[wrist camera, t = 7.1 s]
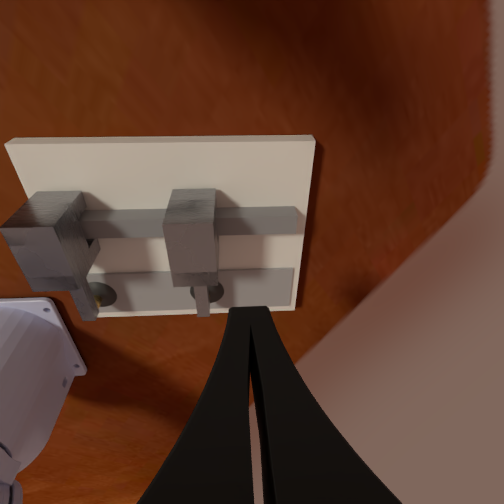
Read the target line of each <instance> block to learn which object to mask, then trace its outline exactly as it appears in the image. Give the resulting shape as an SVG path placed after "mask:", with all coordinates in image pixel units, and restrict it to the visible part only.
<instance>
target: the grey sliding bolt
mask: <svg viewBox="0 0 504 504" xmlns="http://www.w3.org/2000/svg"><path fill="white" fill-rule="evenodd" d="M216 209H217V200H216V188H205V189H173V190H172V193H171V196H170V199H169V203H168V206H167V209H166V213H165V216H164V219H163V223H162V228H163V233H164V239H165V244H166V249H167V255H168V260H169V266H170V271H171V277H172V282H173V287H194V294H195V301H196V309H197V316H198V317H208V316H210V294H209V289H208V286H218V269H219V236H217V222H216Z"/></svg>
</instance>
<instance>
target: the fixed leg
mask: <svg viewBox="0 0 504 504" xmlns="http://www.w3.org/2000/svg"><path fill="white" fill-rule="evenodd" d="M86 207H87V206H86V203H85V200H84V197H83V194H82V191H37V192H36V193H34V194H33V195H32V196H31V197H30V198H29V199H28V200H27V201H26V202H25V203H24V204H23V205H22V206H21V207H20V208H19V209H18V210H17V211H16V212H15V213H14V214H13V215H12V216H11V217H10V218H9V219H8V220H7V221H6V222H5V223H4V224H3V225H2V226H1V227H0V231H1V233H2V234H3V236H4V238H5V240H6V242H7V244H8V246H9V247H10V249H11V251H12V253H13V255H14V257H15V259H16V260H17V262H18V264H19V266H20V268H21V270H22V272H23V273H24V275H25V277H26V279H27V281H28V283H29V285H30V286H31V288H32V290H33V292H36V291H68V290H69V291H70V293H71V295H72V298H73V300H74V302H75V304H76V307H77V309H78V311H79V313H80V315H81V318H82V320H83V321H96V318H97V316H98V314H99V307H100V305H101V303H102V300H103V299H102V297H101V296H99V295H94V296H93V294H92V291H91V289H90V286H89V283H88V281H87V278H86V277H87V275H88V273H89V271H90V269H91V267H92V265H93V263H94V261H95V259H96V257H97V255H98V254H99V252H100V250H101V248H100V245H99V242H98V239H86V238H85V235H84V232H83V230H82V227H81V224H80V221H79V217H80V216H81V214H82V213H83V211H84V210H85V208H86Z"/></svg>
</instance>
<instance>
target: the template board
mask: <svg viewBox="0 0 504 504" xmlns="http://www.w3.org/2000/svg"><path fill="white" fill-rule="evenodd" d="M315 142H316V141H315V139H314V138H313V136H312V135H261V136H157V137H53V138H13V139H12V140H10V141H9V142H7V143H5V144H4V145H5V147H6V150H7V152H8V154H9V156H10V158H11V161H12V163H13V165H14V167H15V170H16V172H17V174H18V176H19V179H20V181H21V183H22V185H23V188H24V190H25V192H26V194H27V197H28V199H29V198H30V197H31V196H32V195H33V194H34V193H36V192H37V191H82V194H83V197H84V200H85V203H86V206H87V207H86V208H85V210H84V211H83V213H82V214H81V216H80V217H79V221H80V224H81V227H82V230H83V232H84V235H85V238H86V239H98V242H99V245H100V248H101V250H100V252H99V254H98V255H97V257H96V259H95V261H94V263H93V265H92V267H91V269H90V271H89V273H88V275H87V277H86V278H87V281H88V283H89V286H90V289H91V291H92V294H93V296H94V295H99V296H101V297H102V299H103V300H102V303H101V305H100V307H99V314H98V316H97V317H118V316H146V315H174V314H197V309H196V301H195V294H194V287H173V282H172V277H171V271H170V266H169V260H168V255H167V249H166V244H165V239H164V233H163V228H162V223H163V219H164V216H165V213H166V209H167V206H168V203H169V199H170V196H171V193H172V190H173V189H205V188H216V200H217V209H216V222H217V236H219V269H218V286H208V289H209V294H210V313H228V311H229V309H230V308H231V307H245V306H267V307H268V308H269V310H270V311H286V310H295V304H296V296H297V287H298V279H299V271H300V263H301V255H302V247H303V239H304V231H305V223H306V215H307V207H308V199H309V191H310V183H311V175H312V167H313V159H314V151H315Z"/></svg>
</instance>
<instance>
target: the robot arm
mask: <svg viewBox="0 0 504 504" xmlns="http://www.w3.org/2000/svg"><path fill="white" fill-rule="evenodd" d="M86 372H87V368H86V366H85V364H84V362H83V360H82V358H81V356H80V354H79V352H78V350H77V348H76V346H75V344H74V342H73V340H72V338H71V336H70V334H69V332H68V330H67V328H66V326H65V324H64V322H63V320H62V318H61V316H60V314H59V312H58V310H57V308H56V306H55V304H54V302H53V301H52V300H51V299H50V298H46V297H40V298H10V299H0V504H22V499H23V493H22V487H21V484H20V483H19V482H18V481H16V480H14V479H15V477H16V474H17V473H18V472H20V471H21V470H23V469H24V468H25V467H27V466H28V465H29V464H30V463H31V462H32V461H33V460H34V459H35V458H36V457H37V456H38V455H39V453H40V452H41V451H42V449H43V448H44V447H45V445H46V443H47V441H48V439H49V437H50V435H51V432H52V430H53V428H54V425H55V423H56V420H57V418H58V415H59V413H60V411H61V408H62V406H63V403H64V401H65V398H66V396H67V394H68V391H69V389H70V386H71V384H72V382H73V379H74V377H75V376H82V375H85V374H86ZM250 374H251V381H252V388H253V395H254V402H255V409H256V416H257V423H258V430H259V438H260V449H261V464H262V482H263V498H264V504H402V503H401V502H400V500H399V499H398V498H397V497H396V496H395V495H394V494H393V493H392V492H391V491H390V490H389V489H388V488H387V487H386V486H385V485H384V484H383V482H381V480H380V479H379V478H378V477H377V476H376V475H375V474H374V473H373V472H372V470H371V469H370V468H369V467H368V466H367V465H366V464H365V462H364V461H363V460H362V459H361V458H360V457H359V456H358V454H357V453H356V452H355V451H354V450H353V448H352V447H351V446H350V445H349V443H348V442H347V441H346V440H345V438H344V437H343V436H342V435H341V433H340V432H339V431H338V430H337V428H336V427H335V426H334V425H333V423H332V422H331V421H330V419H329V418H328V417H327V415H326V414H325V412H324V411H323V410H322V408H321V407H320V405H319V404H318V402H317V401H316V399H315V398H314V397H313V395H312V394H311V392H310V390H309V389H308V388H307V386H306V384H305V383H304V381H303V379H302V378H301V376H300V374H299V373H298V371H297V369H296V367H295V366H294V364H293V362H292V360H291V358H290V356H289V354H288V353H287V351H286V349H285V347H284V345H283V343H282V341H281V339H280V336H279V334H278V332H277V329H276V327H275V325H274V322H273V319H272V316H271V314H270V310H269V308H268V307H267V306H245V307H231V308H230V309H229V311H228V319H227V324H226V329H225V333H224V336H223V340H222V343H221V346H220V349H219V352H218V355H217V358H216V361H215V363H214V366H213V368H212V371H211V373H210V375H209V378H208V380H207V383H206V385H205V387H204V390H203V392H202V394H201V396H200V398H199V400H198V402H197V404H196V406H195V408H194V410H193V412H192V414H191V416H190V418H189V420H188V422H187V424H186V426H185V427H184V429H183V431H182V433H181V435H180V436H179V438H178V440H177V442H176V443H175V445H174V447H173V448H172V450H171V452H170V453H169V455H168V457H167V458H166V460H165V461H164V463H163V465H162V466H161V468H160V469H159V471H158V473H157V474H156V476H155V477H154V479H153V480H152V482H151V484H150V485H149V486H148V488H147V489H146V491H145V492H144V494H143V495H142V497H141V498H140V500H139V501H138V502H137V504H254V493H253V478H252V461H251V445H250V426H249V385H250Z"/></svg>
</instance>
